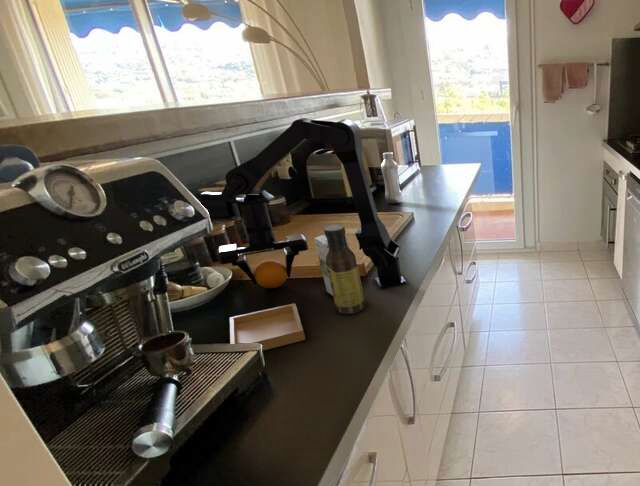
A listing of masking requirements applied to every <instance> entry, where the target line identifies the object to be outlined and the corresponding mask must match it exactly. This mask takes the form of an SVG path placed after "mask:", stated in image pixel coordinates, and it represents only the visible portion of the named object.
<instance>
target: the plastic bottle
mask: <svg viewBox="0 0 640 486" xmlns="http://www.w3.org/2000/svg"><path fill="white" fill-rule="evenodd" d="M382 158H383V161H382V162H381V163H380V169H381V170H380V171H381V174H382V177H383V182H384V188H385V189H384V191H385V193H384V199H385V201H386V202H387V203H388V204H399V203H401V202H402V200H403V195H402V191H401V187H400V183H399V166H398V163H397V162H396V161H395V159H394V153H393V152H388V151H387V152H383V153H382Z"/></svg>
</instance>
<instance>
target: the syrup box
mask: <svg viewBox="0 0 640 486" xmlns="http://www.w3.org/2000/svg"><path fill="white" fill-rule="evenodd" d="M313 240H314V244H315V249H316V252H317V253H316V254H317V256H318V261H319V265H320V270H321V273H322V278H323V282H324V286H325V291H326V293H327V294H329V295H330V296H332V297H333V292H332V288H331V284H330V279H329V275H328V271H327V266H326V255H327V253H328V251H329V247H328V241H327V237H326V236H325V234H322V235H319V236H317V237H314V238H313ZM346 242H347V246H348V248H349V249H350V245H349V240H348V237H346Z"/></svg>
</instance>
